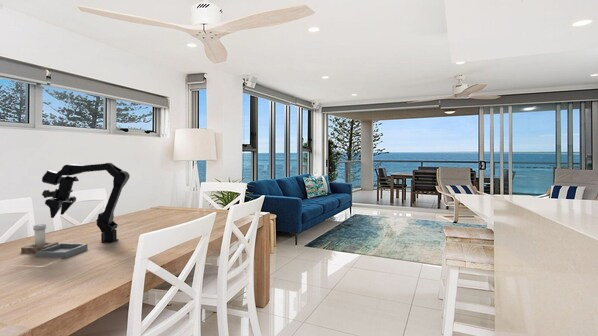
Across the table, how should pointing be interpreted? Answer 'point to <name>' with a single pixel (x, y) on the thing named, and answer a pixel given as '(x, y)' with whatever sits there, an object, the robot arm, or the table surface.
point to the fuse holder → (34, 249)
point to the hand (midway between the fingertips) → (57, 216)
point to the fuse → (39, 235)
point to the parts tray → (62, 250)
